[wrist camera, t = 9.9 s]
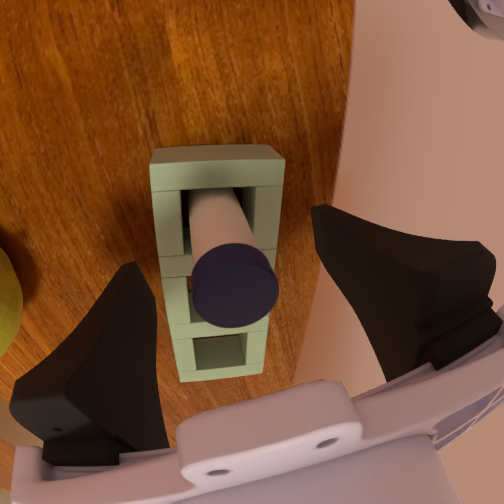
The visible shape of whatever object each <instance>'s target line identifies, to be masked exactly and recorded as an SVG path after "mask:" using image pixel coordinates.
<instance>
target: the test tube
mask: <svg viewBox="0 0 504 504" xmlns="http://www.w3.org/2000/svg"><path fill="white" fill-rule="evenodd" d="M188 211H189V223H190V235H191V246H192V256H193V266H194V268H193V270H192V273H191V289H192V299H193V305H194V308H195V310H196V312H197V313H198V315H199V316H200V317H201V318H202V319H203V320H204V321H206V322H207V323H209V324H211V325H214V326H217V327H221V328H240V327H244V326H248V325H251V324H253V323H255V322H257V321H259V320H261V319H262V318H263V317H265V316H266V315H267V314H268V313H269V312H270V311H271V310H272V308H273V307H274V305H275V303H276V301H277V299H278V294H279V284H278V280H277V278H276V276H275V274H274V271H273V269H272V267H271V265H270V262H269V260H268V259H267V257H266V256H265V255H264V254H263V253H262V252H261V251H260V250H259V248H258V245H257V243H256V241H255V238H254V236H253V234H252V232H251V229H250V227H249V225H248V222H247V220H246V218H245V215H244V213H243V211H242V208H241V206H240V204H239V202H238V199H237V197H236V195H235V192H234V190H233V188H232V187H223V188H203V189H190V191H189V194H188Z"/></svg>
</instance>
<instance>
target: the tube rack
mask: <svg viewBox="0 0 504 504" xmlns="http://www.w3.org/2000/svg"><path fill="white" fill-rule="evenodd" d="M284 170H285V159H284V158H283V157H282V156H281V155H280V154H278V153H277V152H276V151H275V150H274V149H273V148H272V147H271V146H270V145H268V144H230V145H198V146H178V147H163V148H155V149H154V151H153V155H152V158H151V161H150V164H149V171H150V184H151V192H152V193H151V195H152V206H153V216H154V225H155V234H156V242H157V251H158V256H159V257H158V258H159V266H160V273H161V280H162V287H163V293H164V300H165V306H166V312H167V317H168V323H169V328H170V334H171V339H172V344H173V349H174V354H175V359H176V364H177V369H178V374H179V378H180V382H191V381H202V380H212V379H221V378H230V377H238V376H245V375H253V374H260V373H262V372H263V364H264V356H265V347H266V339H267V331H268V330H267V329H268V322H269V313H270V312H269V313H268V314H267V315H266V316H265V317H263V318H262V319H261V320H259V321H257V322H255V323H253V324H251V325H248V326H244V327H240V328H221V327H217V326H214V325H211V324H209V323H207V322H206V321H204V320H203V319H202V318H201V317H200V316H199V315H198V313H197V312H196V310H195V308H194V305H193V299H192V291H188V286H187V276H191V273H192V270H193V268H194V266H193V256H192V246H191V235H190V227H183V221H182V204H181V190H186V189H203V188H223V187H243V202H242V211H243V213H244V215H245V218H246V220H247V222H248V225H249V227H250V229H251V232H252V234H253V236H254V238H255V241H256V243H257V245H258V248H259V250H260V251H261V252H262V253H263V254H264V255H265V256H266V257H267V259H268V260H269V262H270V265H271V267H272V269H273V271H274V267H275V259H276V248H277V242H278V232H279V222H280V212H281V202H282V191H283V181H284ZM237 333H238V335H234V336H225V337H215V338H205V339H193V338H197V337H208V336H218V335H228V334H237Z"/></svg>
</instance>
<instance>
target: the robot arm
mask: <svg viewBox="0 0 504 504" xmlns="http://www.w3.org/2000/svg"><path fill="white" fill-rule="evenodd" d="M477 2H478V6H479V8H480V10H481V11H482V12H485V13H489V14H492V15H495V16H498V17H501V18H504V0H477ZM311 216H312V224H313V231H314V239H315V248H316V251H317V253H318V255H319V257H320V259H321V261H322V263H323V265H324V267H325V269H326V270H327V272H328V273H329V274H330V276H331V277H332V279H333V280H334V282H335V283H336V285H337V286H338V287H339V289H340V290H341V292H342V293H343V295H344V296H345V297H346V299H347V300H348V302H349V303H350V305H351V306H352V308H353V309H354V311H355V313H356V315H357V317H358V319H359V320H360V322H361V324H362V326H363V328H364V330H365V332H366V334H367V336H368V338H369V341H370V343H371V345H372V347H373V349H374V351H375V354H376V356H377V359H378V361H379V364H380V366H381V368H382V371H383V373H384V375H385V378H386V381H387V383H385V384H383V385H381V386H379V387H377V388H374V389H372V390H370V391H367V392H365V393H362V394H360V395H358V396H355V397H353V398H351V399H350V398H349V396H348V393H347V391H346V389H345V388H344V386H343V384H342V383H341V382H336V381H328V380H318V381H313V382H308V383H303V384H300V385H297V386H294V387H291V388H287V389H284V390H281V391H278V392H275V393H271V394H268V395H265V396H261V397H258V398H254V399H250V400H247V401H243V402H239V403H236V404H232V405H228V406H224V407H220V408H215V409H211V410H207V411H203V412H200V413H198V414H195V415H192V416H190V417H187V418H186V419H185V420H183V422H182V423H181V424H180V425H179V426H178V427H177V428H176V429H175V430H176V441H177V447H171V448H170V446H169V442H168V438H167V434H166V430H165V425H164V421H163V416H162V410H161V404H160V398H159V392H158V383H157V375H156V345H157V310H156V301H155V297H154V295H153V293H152V291H151V289H150V288H149V286H148V284H147V282H146V280H145V278H144V276H143V274H142V272H141V271H140V269H139V267H138V265H137V263H136V261H134V262H130V263H127V264H124V265H122V266H121V267H120V268H119V270H118V271H117V272H116V274H115V275H114V276H113V278H112V279H111V281H110V282H109V284H108V285H107V287H106V288H105V289H104V291H103V292H102V294H101V295H100V297H99V298H98V300H97V301H96V302H95V304H94V305H93V306H92V308H91V309H90V310H89V312H88V313H87V315H86V316H85V317H84V318H83V320H82V321H81V322H80V323H79V325H78V326H77V327H76V328H75V329H74V330H73V332H72V333H71V334H70V335H69V336H68V337H67V338H66V339H65V340H64V341H63V342H62V343H61V344H60V345H59V346H58V347H57V348H56V349H55V350H54V351H53V352H52V353H51V354H50V355H48V356H47V357H46V358H45V359H44V360H43V361H41V362H40V363H39V364H38V365H37V366H35V367H34V368H33V369H31V370H30V371H29V372H27V373H26V374H24V375H23V376H22V377H20V378H19V379H17V380H16V382H15V385H14V389H13V393H12V397H11V401H10V405H9V410H10V413H11V415H12V416H13V417H14V419H15V420H16V421H17V422H18V423H19V424H21V425H22V426H23V427H24V428H26V429H27V430H29V431H30V432H31V433H33V434H34V435H36V436H37V437H38V438H40V439H41V440H43V441H44V446H43V448H40V447H37V446H21V445H20V446H19V445H18V446H16V451H15V458H14V466H13V475H12V485H11V502H12V503H13V504H463V503H462V501H461V499H460V497H459V495H458V492H457V490H456V488H455V487H454V484H453V482H452V480H451V478H450V476H449V474H448V472H447V470H446V468H445V466H444V464H443V463H442V461H441V459H440V457H439V455H438V453H437V451H439V450H440V449H442V448H443V447H445V446H446V445H448V444H449V443H451V442H452V441H454V440H455V439H456V438H458V437H459V436H461V435H462V434H463V433H465V432H466V431H468V430H469V429H470V428H472V427H473V426H474V425H476V424H477V423H478V422H480V421H481V420H482V419H484V418H485V417H486V416H487V415H489V414H490V413H491V412H492V411H494V410H495V409H496V408H497V407H498V406H499V405H501V404H502V403H503V402H504V305H503V306H502V307H501V308H500V309H499V310H498V311H497V312H496V313H495V312H494V311H493V309H492V308H491V307H492V305H493V301H492V300H491V299H490V298H489V297H488V293H489V290H490V287H491V285H492V281H493V279H494V275H495V271H496V259H495V256H494V255H493V254H492V253H491V252H490V251H489V250H488V249H487V248H485V247H484V246H483V245H482V244H481V243H480V242H478V241H451V240H442V239H434V238H427V237H422V236H416V235H411V234H407V233H403V232H399V231H396V230H392V229H389V228H386V227H382V226H380V225H377V224H374V223H371V222H369V221H366V220H363V219H361V218H358V217H356V216H354V215H351V214H349V213H347V212H344V211H342V210H340V209H337V208H335V207H332V206H330V205H327V204H322V205H319V206H315V207H311Z"/></svg>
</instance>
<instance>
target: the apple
mask: <svg viewBox="0 0 504 504" xmlns="http://www.w3.org/2000/svg"><path fill="white" fill-rule="evenodd" d="M22 315H23V294H22V289H21V285H20V282H19V280H18V278H17V275H16V273H15V271H14V269H13V266H12V264H11V262H10V259H9V258H8V256H7V254H6V253H5V252H4V251H3V249H2V248H1V247H0V357H1V356H2V355H3V354H4V353H5V352H6V351H7V349H8V348H9V346H10V345H11V344H12V342H13V340H14V339H15V337H16V335H17V333H18V330H19V328H20V325H21V321H22Z"/></svg>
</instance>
